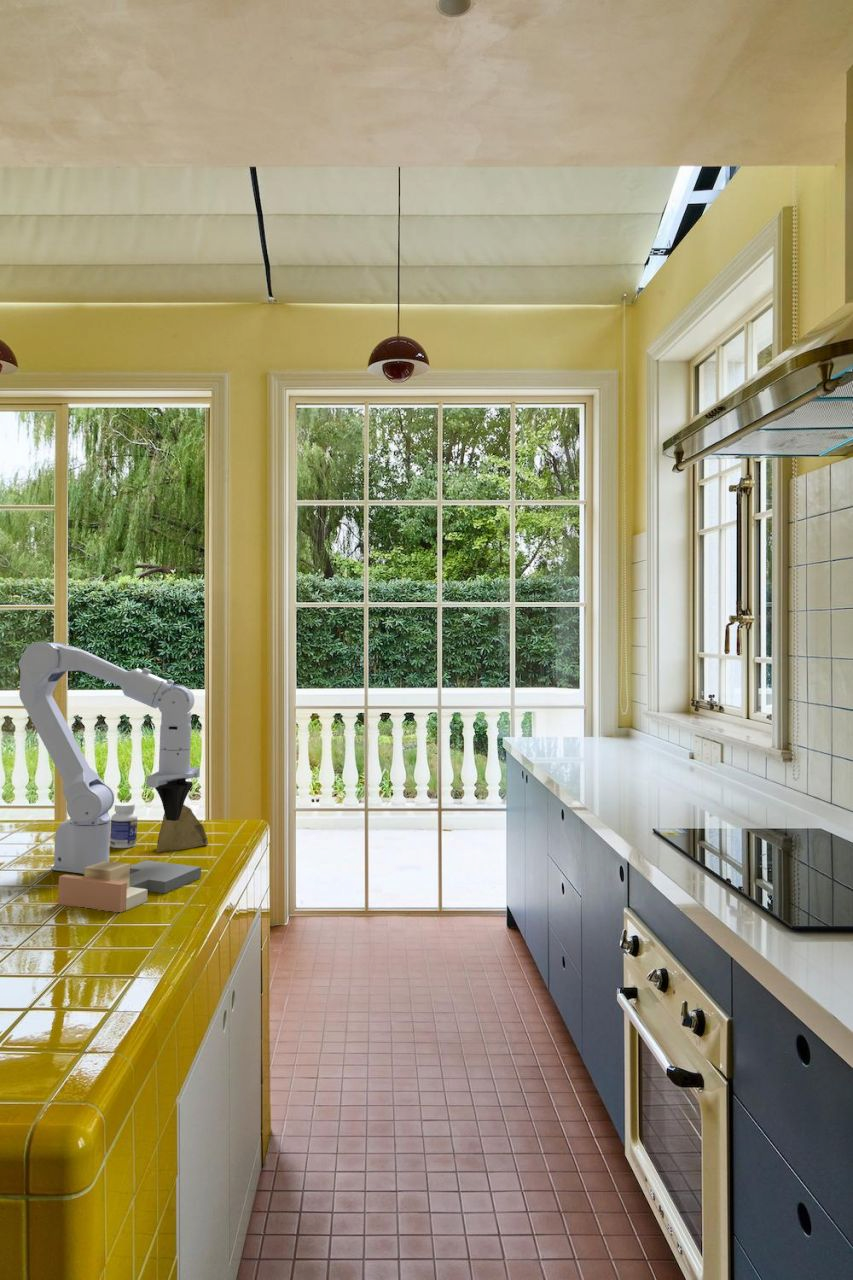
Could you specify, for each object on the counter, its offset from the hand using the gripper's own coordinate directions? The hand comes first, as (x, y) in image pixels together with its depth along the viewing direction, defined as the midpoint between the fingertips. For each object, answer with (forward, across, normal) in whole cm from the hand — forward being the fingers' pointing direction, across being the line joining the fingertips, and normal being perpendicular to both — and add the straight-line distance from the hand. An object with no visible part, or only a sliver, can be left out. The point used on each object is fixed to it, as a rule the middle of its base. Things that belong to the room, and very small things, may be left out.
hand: (172, 819), depth 161 cm
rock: (+10, +16, +8) cm, 20 cm away
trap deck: (+9, -14, -2) cm, 17 cm away
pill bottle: (+10, +12, +20) cm, 25 cm away
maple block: (+7, -22, -3) cm, 23 cm away
